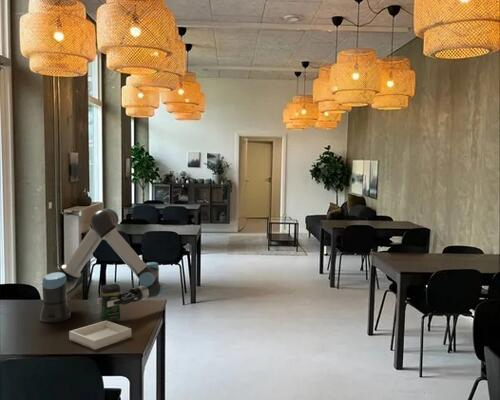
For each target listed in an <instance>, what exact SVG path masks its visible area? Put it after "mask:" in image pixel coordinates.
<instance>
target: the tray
mask: <svg viewBox="0 0 500 400" xmlns="http://www.w3.org/2000/svg"><path fill="white" fill-rule="evenodd" d="M132 336H133V335H132V327H131V328H130V327H128V326H124V325H122V324H118V323H115V322H113V321H112V322H109V321H102V320H101V321H100V322H95V323H93V324H89V325H87V326H83V327H82V326H81V327H79V328H76V329H72V330H69V331H68V337H69V338H68V339H69V341H71V342H74V343H76V344H79V345H80V346H84V347H86V348H89V349H91V350H94V351H95V350H99V349H102V348H104V347H107V346H109V345H112V344H115V343H116V344H117V343H118V342H121V341H124V340H127V339H129V338H132Z"/></svg>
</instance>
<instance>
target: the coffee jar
mask: <svg viewBox="0 0 500 400" xmlns="http://www.w3.org/2000/svg"><path fill="white" fill-rule="evenodd" d="M120 292H121V288H120V284H117V283H111V284H105V285H101V287H100V295H101V298H102V303H101V310H100V321H101V322H102V321H109V322H112V323H113V322H116V321H119V320H120V319H121V310H120V304H119V305H115V306H111V307H107V302H108V301H112V300H116V299H119V295H120Z"/></svg>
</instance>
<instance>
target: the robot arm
mask: <svg viewBox="0 0 500 400" xmlns="http://www.w3.org/2000/svg"><path fill="white" fill-rule="evenodd" d="M119 221H120V220H119V215H118V213H117V211H115V210H114V209H112V208H103V209H99V210H97V211H95V212H94V213H93V214H92V215H91V217H90V224H89V226H88V227H89V230H88V231H87V233H86V235H85V236H84V237H83V239H82V240H81V242H80V243H79V245H78V246H77V248H76V249H75V251H74V252H73V254H72V255H71V257H69V258H70V259H69V260H68V262H67V263H66V264H62V265H61V267H60V268H59V269H58V270H57V272H50V273H47V274H46V275H44V276H43V278H42V283H41V285H42V307H41V312H40V314H39V321H40V322H42V323H58V322H59V323H60V322H63V321H66V320H69V319H71V313H72V312H71V309H70V308H69V307H70V306H69V305H68V301H67V299H68V298H67V294H68V293H69V292H70V291H71V290H73V289H74V288H75V287H76V286H77V284H78V281H79V279H80V277H81V276H82V273H81V271H82V270H83V269H84V266H86V264H87V263H88V261H89V259H90V258H91V257H92V255H93V253H95V251H96V249H97V248H98V246H99V245H100V243H101V242H102V241H103V240H104V241H105V242H106V243H107V244H108V245H109V246H110V247H111V248H112V249H113V251H114V252H115V253H116V254H117V255H118V256H119V257H120V259H122V261H123V262H124V264H126V266H127V267H128V268H129V269H130V270H131V271H132V273H133V274H134V275H135V276H136V278H138V280H139V281H138V282H139V284H140V285H139V286H137V287H132V288H130V289H129V290H128V291H125V292H124V291H120V295H119V299H116V300H112V301H108V302H107V307H111V306H115V305H119V306H120V305H123V306H124V305H127V304H131V303H135V302H140V301H144V300H146V299H147V300H148V299H151V298H155V297H159V296H160V295H162V294H163V293H164V287H163V284H162V282H160V281H159V280H160V278H159V277H160V272H159V271H160V267H159V263H158V262H155V261H152V262H151V261H150V262H146V263H145V262H144V261H143V260H142V258H141V257H140V256H139V255H138V254H137V252H136V251H135V250H134V249H133V248H132V247H131V246H130V244H129V243H128V242H127V241H126V239H124V237H123V236H122V235H121V234H120V233H119V231H118V229H117V226H118V224H119ZM96 304H97V305H101V304H102V297H99V298H97V299H96Z"/></svg>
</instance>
